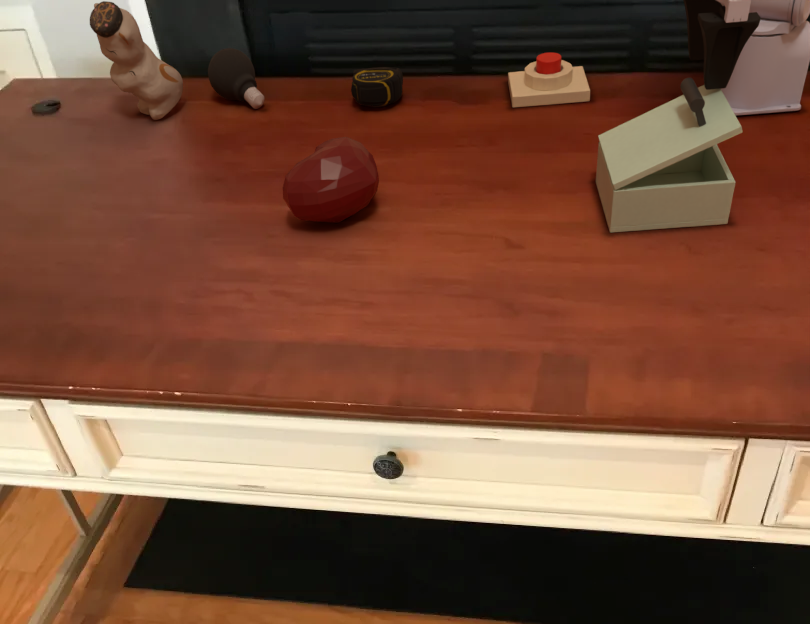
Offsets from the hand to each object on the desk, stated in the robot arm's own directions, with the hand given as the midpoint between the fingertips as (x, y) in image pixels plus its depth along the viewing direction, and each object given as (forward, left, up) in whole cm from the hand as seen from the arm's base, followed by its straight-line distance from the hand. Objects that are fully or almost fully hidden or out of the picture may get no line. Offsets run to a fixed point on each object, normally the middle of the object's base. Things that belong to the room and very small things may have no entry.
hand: (707, 72), depth 95 cm
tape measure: (+37, -26, -11) cm, 46 cm away
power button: (+14, -24, -8) cm, 29 cm away
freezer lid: (+5, +7, -3) cm, 9 cm away
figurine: (+68, -27, -11) cm, 74 cm away
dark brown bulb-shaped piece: (+56, -30, -11) cm, 64 cm away
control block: (+14, -24, -10) cm, 30 cm away
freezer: (+5, +7, -10) cm, 13 cm away
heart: (+40, +4, -11) cm, 42 cm away
